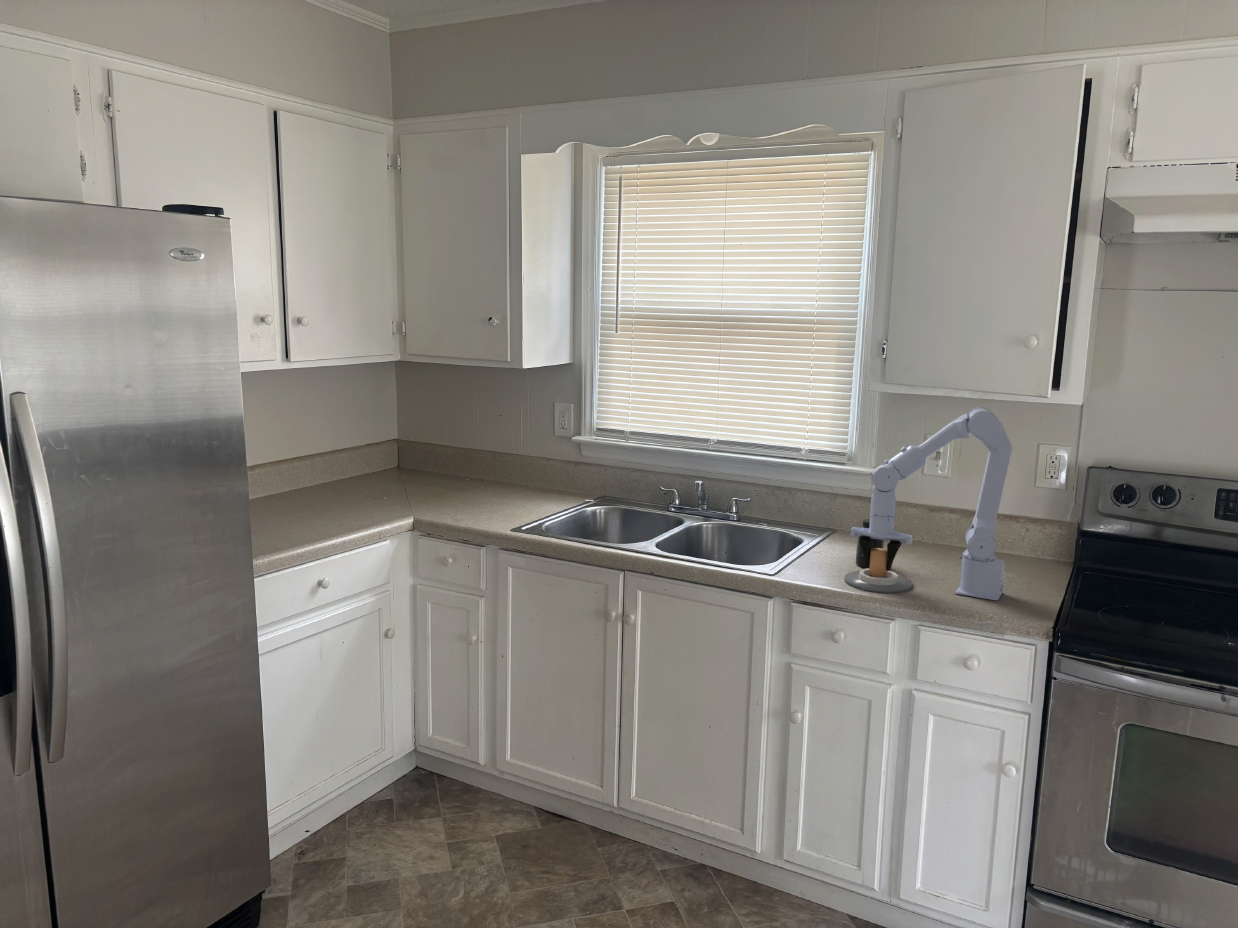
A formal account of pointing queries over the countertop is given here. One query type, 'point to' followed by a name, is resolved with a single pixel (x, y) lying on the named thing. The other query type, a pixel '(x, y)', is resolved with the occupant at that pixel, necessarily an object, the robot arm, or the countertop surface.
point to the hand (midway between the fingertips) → (878, 568)
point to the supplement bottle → (859, 552)
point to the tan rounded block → (878, 562)
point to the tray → (878, 588)
